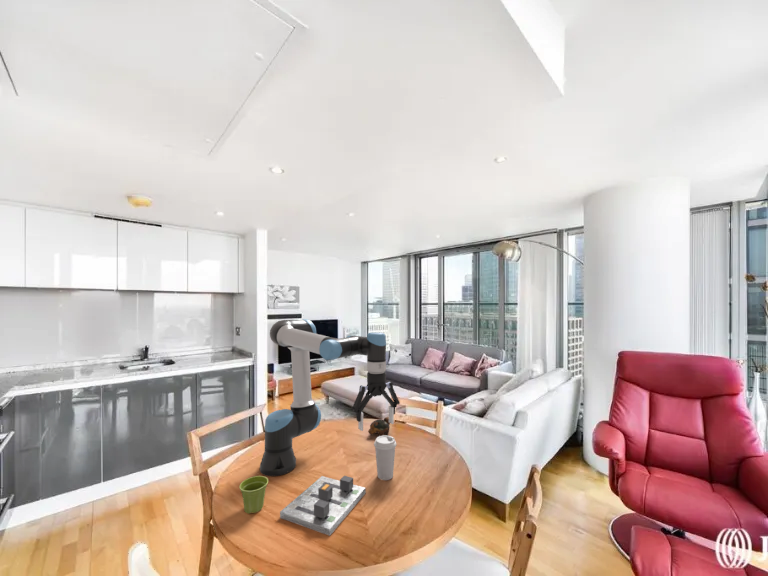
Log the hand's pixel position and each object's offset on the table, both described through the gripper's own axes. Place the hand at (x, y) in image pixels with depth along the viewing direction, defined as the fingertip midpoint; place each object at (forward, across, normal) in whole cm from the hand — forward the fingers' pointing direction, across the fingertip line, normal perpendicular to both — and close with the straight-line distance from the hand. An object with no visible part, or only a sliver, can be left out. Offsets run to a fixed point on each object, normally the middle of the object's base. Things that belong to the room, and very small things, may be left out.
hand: (376, 426), depth 123 cm
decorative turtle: (+24, +26, +44) cm, 57 cm away
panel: (+24, -21, 0) cm, 32 cm away
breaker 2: (+21, -25, -8) cm, 34 cm away
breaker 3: (+21, -12, +2) cm, 24 cm away
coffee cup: (+24, +8, +6) cm, 26 cm away
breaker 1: (+21, -21, 0) cm, 30 cm away
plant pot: (+24, -43, +11) cm, 51 cm away
